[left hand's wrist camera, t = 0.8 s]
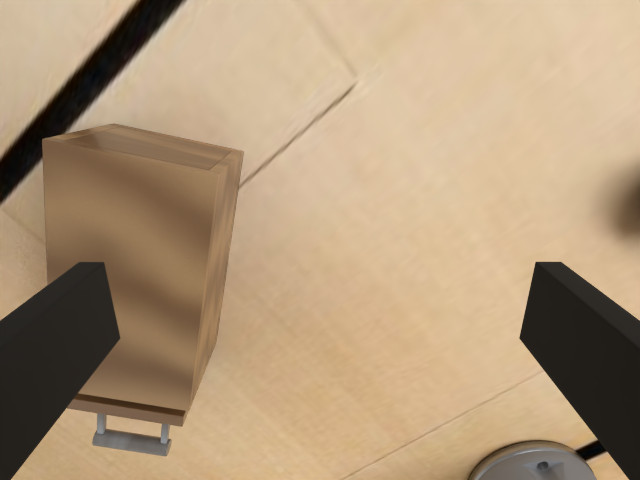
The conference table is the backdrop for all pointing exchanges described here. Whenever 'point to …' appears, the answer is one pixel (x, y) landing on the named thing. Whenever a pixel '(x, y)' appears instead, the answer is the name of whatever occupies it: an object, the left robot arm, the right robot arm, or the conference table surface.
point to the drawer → (132, 411)
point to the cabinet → (146, 249)
